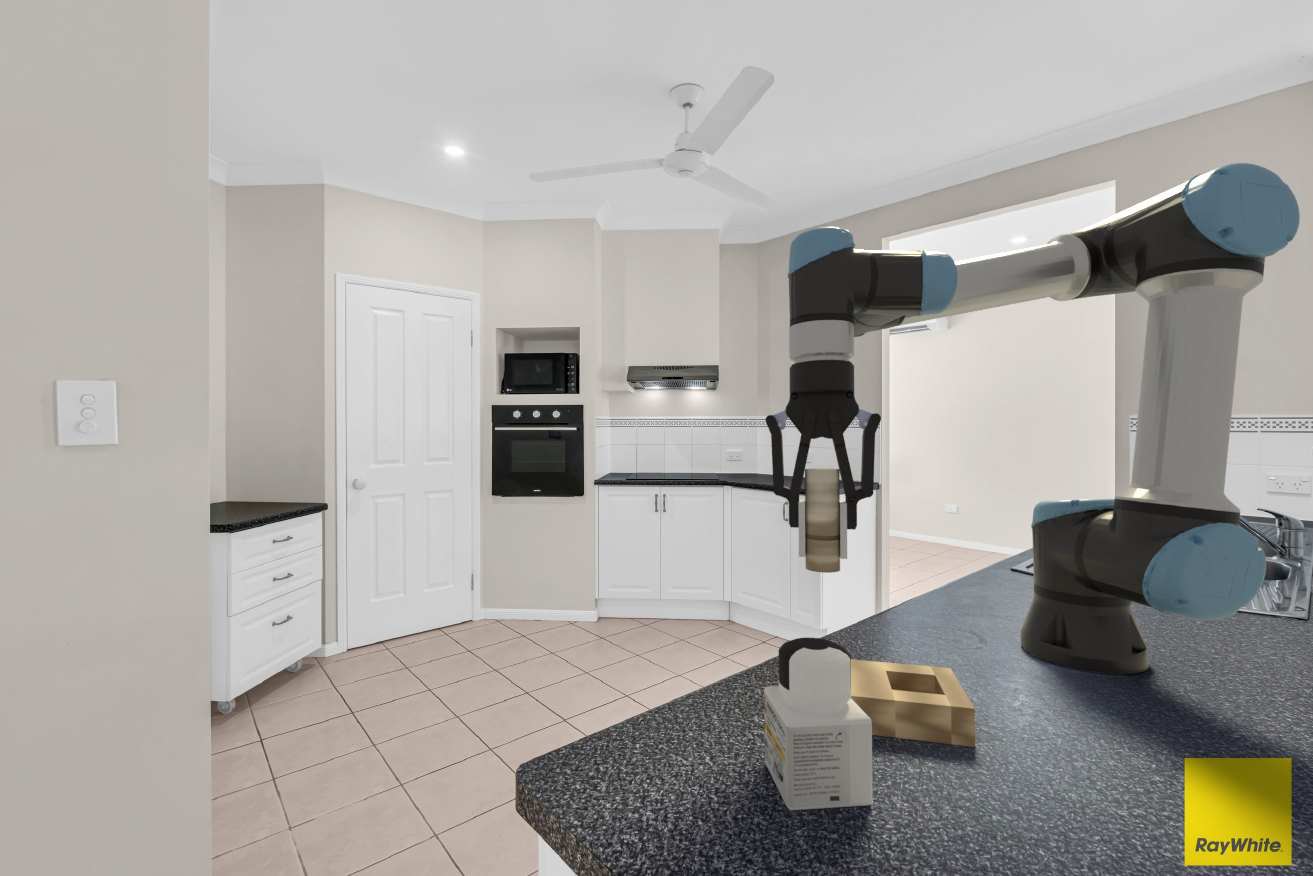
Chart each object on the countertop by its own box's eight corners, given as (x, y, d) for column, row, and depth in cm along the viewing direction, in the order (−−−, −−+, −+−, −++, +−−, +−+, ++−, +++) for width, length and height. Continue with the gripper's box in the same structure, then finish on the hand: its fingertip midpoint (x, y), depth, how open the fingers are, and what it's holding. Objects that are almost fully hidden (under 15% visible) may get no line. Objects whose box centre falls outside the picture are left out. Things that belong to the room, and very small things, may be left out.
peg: (841, 573, 66) (840, 470, 67) (804, 571, 68) (804, 470, 68) (839, 566, 70) (839, 468, 70) (805, 564, 71) (804, 468, 72)
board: (950, 700, 70) (950, 668, 70) (975, 747, 60) (974, 708, 60) (784, 683, 76) (784, 653, 76) (779, 723, 65) (779, 688, 65)
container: (763, 762, 57) (762, 632, 57) (838, 758, 58) (837, 629, 58) (788, 812, 49) (786, 662, 50) (874, 807, 50) (872, 658, 50)
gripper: (893, 363, 70) (894, 553, 70) (753, 368, 75) (754, 546, 75) (902, 354, 63) (903, 565, 63) (746, 360, 68) (747, 558, 68)
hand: (822, 555), depth 69 cm, fingers closed on peg, 4 cm apart
